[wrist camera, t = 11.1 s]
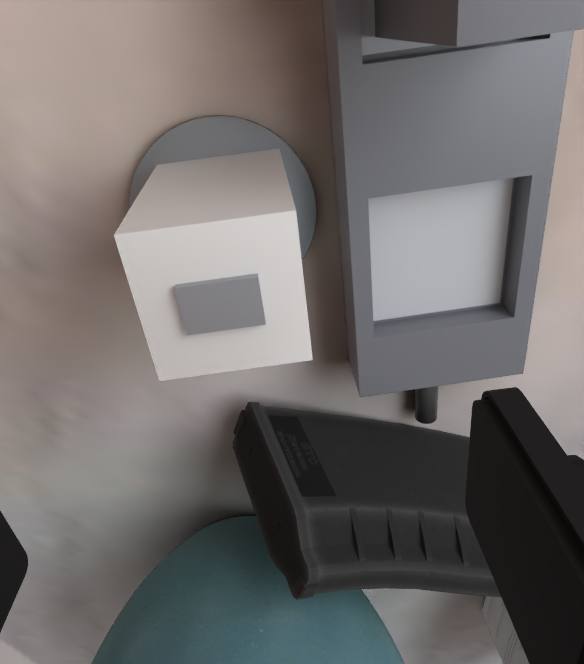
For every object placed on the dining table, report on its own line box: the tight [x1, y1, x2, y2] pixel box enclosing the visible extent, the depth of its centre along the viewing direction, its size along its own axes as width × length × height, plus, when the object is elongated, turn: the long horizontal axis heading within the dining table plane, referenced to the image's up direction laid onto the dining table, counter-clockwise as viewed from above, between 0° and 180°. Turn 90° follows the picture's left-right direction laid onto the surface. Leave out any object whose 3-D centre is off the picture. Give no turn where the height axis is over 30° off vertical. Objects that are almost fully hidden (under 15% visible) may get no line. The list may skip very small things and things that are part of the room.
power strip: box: [322, 0, 574, 424], centre depth 20 cm, size 28×8×4 cm, turn 7°
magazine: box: [233, 402, 502, 600], centre depth 27 cm, size 17×3×30 cm
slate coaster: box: [129, 115, 317, 260], centre depth 22 cm, size 8×8×1 cm
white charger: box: [114, 148, 313, 381], centre depth 18 cm, size 5×5×8 cm
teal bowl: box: [92, 516, 404, 664], centre depth 30 cm, size 18×18×12 cm
